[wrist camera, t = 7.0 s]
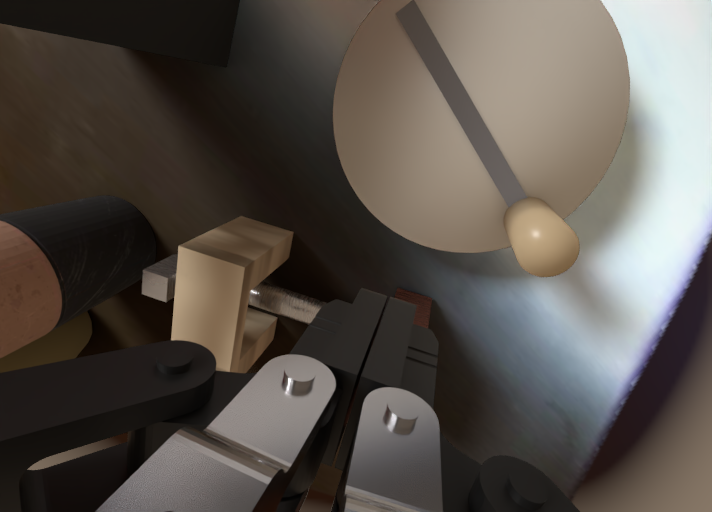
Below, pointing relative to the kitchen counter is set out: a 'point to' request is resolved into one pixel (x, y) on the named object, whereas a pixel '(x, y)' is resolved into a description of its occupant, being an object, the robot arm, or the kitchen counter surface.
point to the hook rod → (267, 295)
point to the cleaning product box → (135, 24)
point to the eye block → (228, 290)
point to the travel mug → (66, 263)
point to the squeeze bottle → (51, 346)
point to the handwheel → (482, 121)
